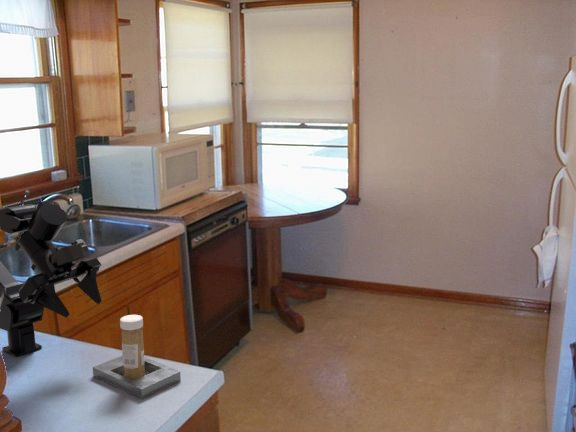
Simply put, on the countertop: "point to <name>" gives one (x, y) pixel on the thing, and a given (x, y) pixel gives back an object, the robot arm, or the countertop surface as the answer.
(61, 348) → the countertop surface
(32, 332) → the robot arm
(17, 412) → the countertop surface
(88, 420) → the countertop surface
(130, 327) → the sprinkles bottle
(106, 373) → the gray rectangular frame
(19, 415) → the countertop surface
